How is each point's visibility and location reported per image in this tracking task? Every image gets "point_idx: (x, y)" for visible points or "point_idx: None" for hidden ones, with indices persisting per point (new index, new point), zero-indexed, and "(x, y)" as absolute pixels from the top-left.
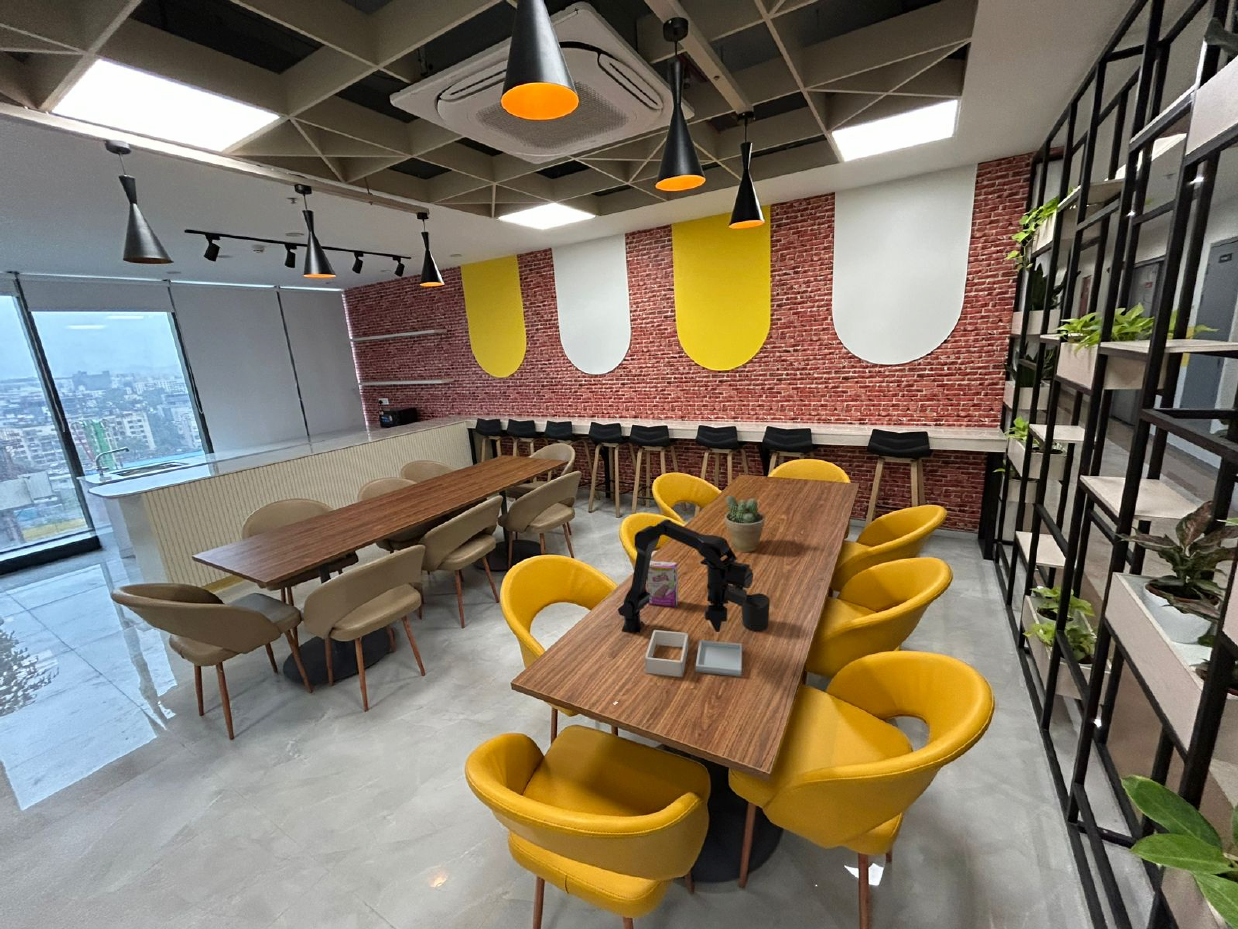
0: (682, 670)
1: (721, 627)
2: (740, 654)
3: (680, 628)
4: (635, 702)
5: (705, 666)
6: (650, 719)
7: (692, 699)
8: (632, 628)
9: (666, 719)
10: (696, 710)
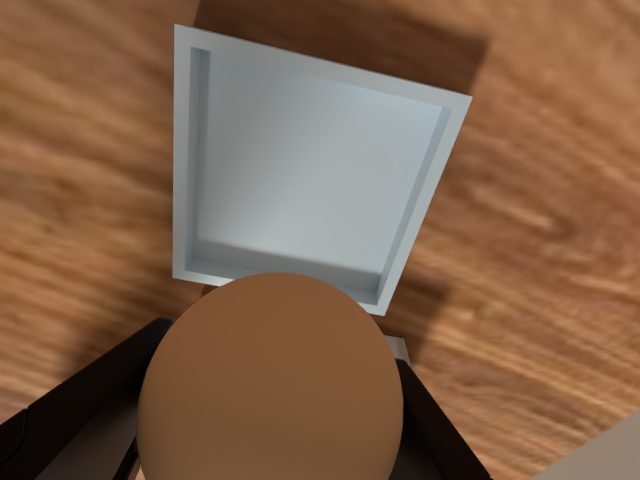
0: (409, 362)
1: (399, 378)
2: (305, 64)
3: (58, 318)
4: (492, 448)
5: (396, 279)
6: (577, 423)
7: (538, 320)
8: (133, 469)
9: (598, 391)
10: (601, 314)
